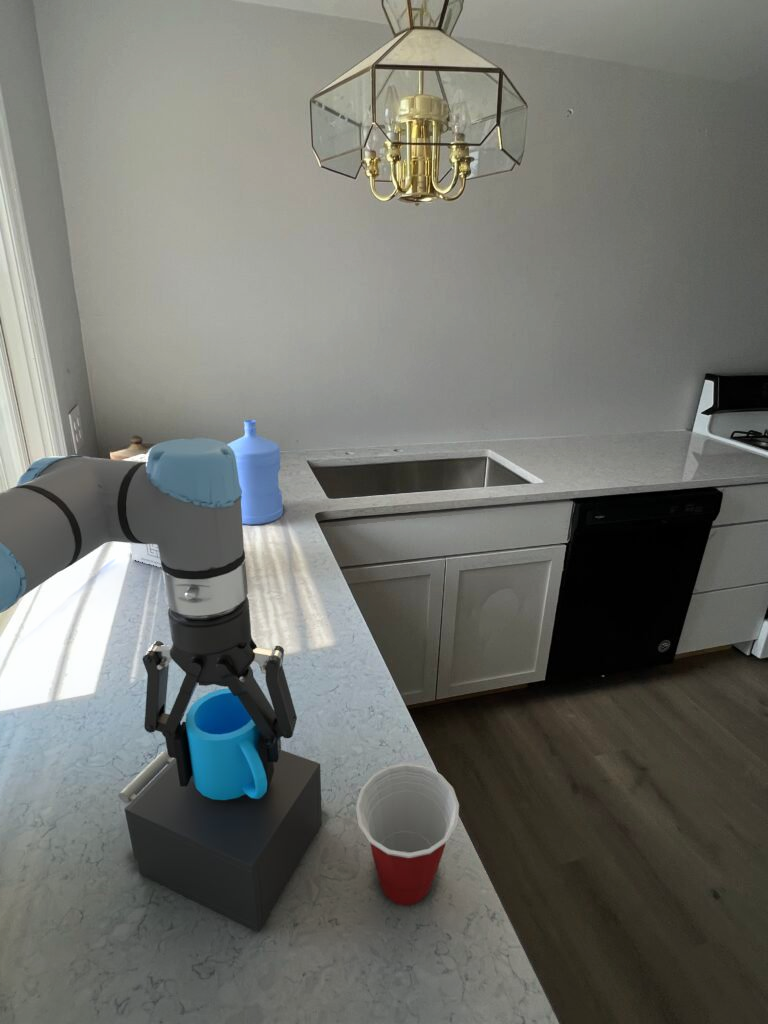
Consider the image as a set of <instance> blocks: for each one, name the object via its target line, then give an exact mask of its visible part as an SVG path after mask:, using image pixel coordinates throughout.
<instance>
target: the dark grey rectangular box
mask: <svg viewBox="0 0 768 1024" xmlns="http://www.w3.org/2000/svg"><path fill="white" fill-rule="evenodd" d="M273 764H274V772H273V776H272V780H271V783H270V787H269V790H267V791H266V793H265V794H264V795H263V796H262V797H261V798H259V799H254V798H250V797H249V796H248V795H247V794H245V795H242V796H240V797H238V798H234V799H228V800H216V799H211V798H209V797H206V796H204V795H202V794H201V793H200V792H199V791H198V790H197V789H196V786H195V783H194V781H193V774H192V777H191V779H190V781H189V783H188V785H187V787H185V786H180V781H179V775H178V768H177V761H175V762H174V763H173V764H172V765H171V766H170V767H169V768H168V769H167V771H166V772H165V773H164V774H163V775H162V776H161V777H160V778H159V779H158V780H157V781H156V782H155V783H154V784H153V785H152V786H151V787H150V788H149V789H148V790H147V791H146V792H145V793H144V794H143V795H142V796H141V797H140V798H139V799H138V800H137V801H136V802H135V803H134V804H133V805H132V806H131V807H130V808H129V809H128V810H127V812H128V817H129V822H130V827H131V832H132V837H133V842H134V847H135V852H136V857H137V860H136V861H137V867H138V871H139V875H141V876H143V877H144V878H147V879H149V880H150V881H153V882H155V883H157V884H159V885H161V886H163V887H165V888H167V889H169V890H171V891H172V892H175V893H177V894H179V895H181V896H183V897H186V898H187V899H189V900H191V901H193V902H195V903H197V904H200V905H202V906H204V907H205V908H207V909H209V910H211V911H214V912H216V913H218V914H220V915H221V916H224V917H226V918H227V919H230V920H231V921H234V922H236V923H238V924H240V925H242V926H244V927H246V928H248V929H250V930H252V931H254V932H256V933H259V932H260V931H261V929H262V927H263V925H264V924H265V922H266V920H267V918H268V917H269V915H270V913H271V912H272V910H273V908H274V907H275V905H276V903H277V902H278V900H279V898H280V896H281V894H282V893H283V891H284V889H285V888H286V886H287V885H288V883H289V881H290V879H291V878H292V876H293V874H294V872H295V871H296V869H297V867H298V866H299V864H300V862H301V860H302V858H303V856H304V855H305V853H306V852H307V850H308V848H309V846H310V845H311V843H312V841H313V840H314V838H315V836H316V834H317V833H318V831H319V829H320V827H321V826H322V824H323V820H322V819H323V816H322V813H323V812H322V782H321V781H322V780H321V775H322V774H321V763H320V762H317V761H314V760H311V759H309V758H305V757H304V756H303V757H302V756H300V755H297V754H294V753H292V752H289V751H287V750H286V751H285V750H283V749H281V752H280V755H279V759H278V761H277V762H273Z"/></svg>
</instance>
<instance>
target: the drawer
mask: <svg viewBox="0 0 768 1024" xmlns="http://www.w3.org/2000/svg"><path fill="white" fill-rule="evenodd" d="M175 761H176V758H170V757H169V755H168V752H167V750H162V751H161V752H160V753H159V754H158V755H157V756H156V757H154V759H153V760H152V761H150V763H148V765H146V767H144V768H143V769H142V771H140V772H139V773H138V774H137V775H136V776H135V777H134V778H133V779H132V780H131V781H130V782H129V783H128V784H126V786H125V787H124V788H123V789H122V790H121V791H120V792H118V799H119V800H120V802H122V803H124V804H127V806H126V807H125V808H124V813H125V819H126V823H127V828H128V835H129V839H130V843H131V848H132V854H133V857H134V860H135V861H137V857H136V852H135V847H134V842H133V837H132V832H131V827H130V822H129V817H128V812H127V810H128V809H129V808H130V807H131V806H132V805H133V804H134V803H135V802H136V801H137V800H138V799H139V798H140V797H141V796H142V795H143V794H144V793H145V792H146V791H147V790H148V789H149V788H150V787H151V786H152V785H153V784H154V783H155V782H156V781H157V780H158V779H159V778H160V777H161V776H162V775H163V774H164V773H165V772H166V771H167V769H168V768H169V767H170V766H171V765H172V764H173V763H174V762H175Z"/></svg>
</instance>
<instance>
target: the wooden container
mask: <svg viewBox="0 0 768 1024" xmlns="http://www.w3.org/2000/svg"><path fill="white" fill-rule="evenodd" d="M143 440H144V439H143V437H142V436H140V435H132V436H131V437H130V438H129V442H130V444H126V445H121V446H117V447H114V448H112V449H111V450H109V455H110V459H114V460H123V459H126V458H130V457H133V456H136V455H140V454H146V455H147V453H148V451H149V450H150V449H151V448H152V447H153V446H154V445H156V444H157V443H143Z"/></svg>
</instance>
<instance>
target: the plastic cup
mask: <svg viewBox="0 0 768 1024" xmlns="http://www.w3.org/2000/svg"><path fill="white" fill-rule="evenodd" d="M355 811H356V816H357V824H358V827H359V829H360V830H361V831H362V833H363V834H364V835H365V836H366V838H367V840H368V842H369V844H370V845H369V846H370V849H371V854H372V857H373V862H374V867H375V870H376V871H375V872H377V877H378V881H379V882H378V883H379V887H381V890H382V892H383V893H384V895H385V896H386V898H388V899H389V900H390V901H392V902H393V903H395V904H397V905H401V906H412V905H416V904H418V903H419V902H421V901H422V900H424V899H425V897H426V896H427V894H428V893H429V891H430V889H431V888H432V886H433V881H434V879H435V876H436V874H437V872H438V869H439V866H440V863H441V859H442V858H443V857H442V856H443V854H444V850H445V847H446V845H447V843H448V841H449V839H450V837H451V836H452V834H453V832H454V831H455V829H456V827H457V826H458V823H459V811H460V803H459V801H458V797H457V795H456V792H455V788H454V786H452V785H451V784H450V783H449V782H448V781H447V779H446V778H445V777H444V776H443V775H442V774H441V773H439V772H437V771H436V770H434V769H432V768H430V767H428V766H426V765H422V764H415V763H408V762H405V763H404V762H403V763H399V764H394V765H389V766H385V767H383V768H382V769H381V770H379V771H377V772H375V773H374V774H372V775H371V776H370V777H369V779H367V781H366V782H365V784H364V785H363V786H362V787H361V788H360V791H359V795H358V798H357V801H356V804H355ZM420 900H421V901H420ZM417 902H418V903H417ZM411 904H412V905H411Z"/></svg>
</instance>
